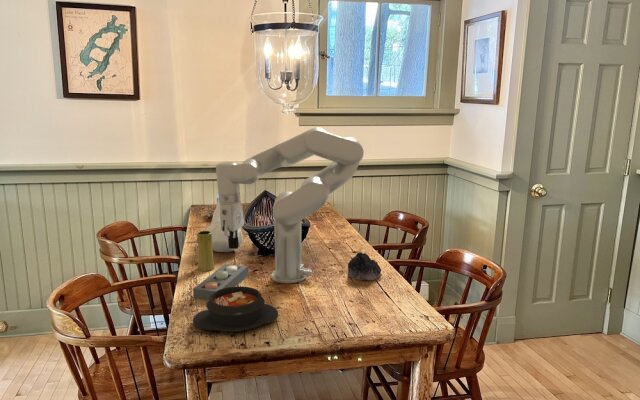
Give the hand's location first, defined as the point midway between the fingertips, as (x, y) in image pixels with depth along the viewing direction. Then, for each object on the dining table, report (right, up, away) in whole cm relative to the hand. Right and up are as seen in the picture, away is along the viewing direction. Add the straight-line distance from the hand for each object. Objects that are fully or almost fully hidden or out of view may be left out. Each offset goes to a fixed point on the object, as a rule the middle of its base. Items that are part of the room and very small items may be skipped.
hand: (233, 247), depth 180 cm
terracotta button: (-5, -13, -13) cm, 19 cm away
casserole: (+6, -19, -31) cm, 37 cm away
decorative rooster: (-10, -4, +35) cm, 36 cm away
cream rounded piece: (-1, -10, +2) cm, 10 cm away
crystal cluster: (+47, -11, +6) cm, 49 cm away
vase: (-13, -9, +12) cm, 19 cm away
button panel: (-3, -13, -5) cm, 14 cm away
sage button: (-3, -11, -6) cm, 12 cm away
